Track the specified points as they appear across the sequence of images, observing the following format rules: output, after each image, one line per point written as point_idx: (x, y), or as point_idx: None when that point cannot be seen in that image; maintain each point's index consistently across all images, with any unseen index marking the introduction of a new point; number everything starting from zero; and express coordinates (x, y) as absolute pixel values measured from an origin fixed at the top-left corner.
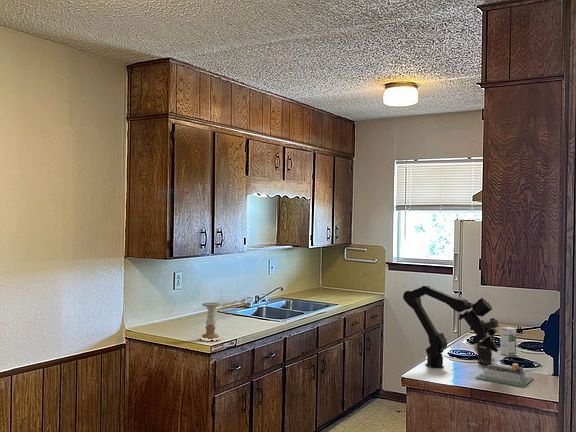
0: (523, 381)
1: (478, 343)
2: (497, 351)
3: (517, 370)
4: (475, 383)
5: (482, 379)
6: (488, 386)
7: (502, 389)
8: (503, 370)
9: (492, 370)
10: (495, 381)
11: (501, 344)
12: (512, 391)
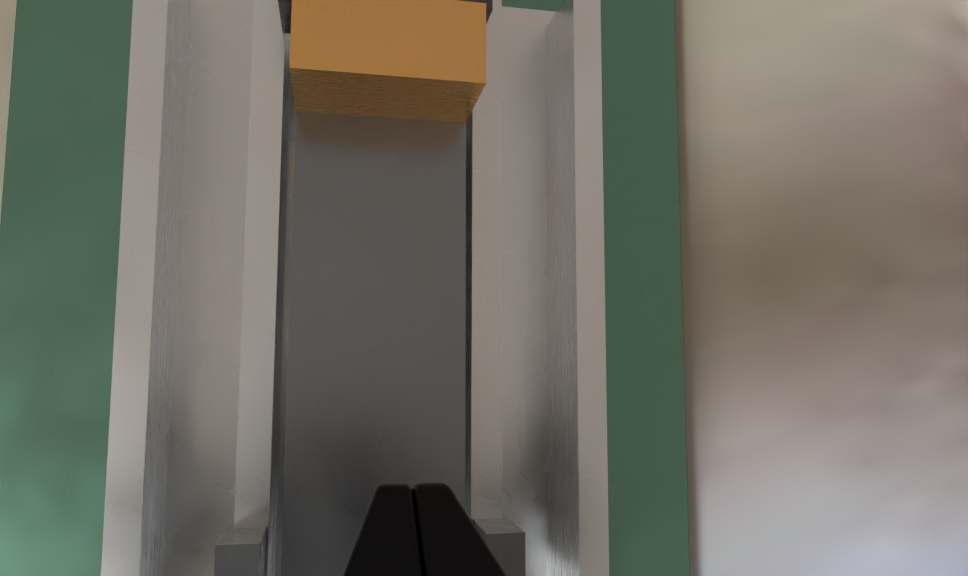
0: None
1: None
2: (406, 497)
3: (486, 17)
4: (914, 553)
5: (681, 549)
6: (927, 367)
7: (930, 188)
8: None
9: (600, 456)
10: (679, 354)
11: None
12: (926, 72)
